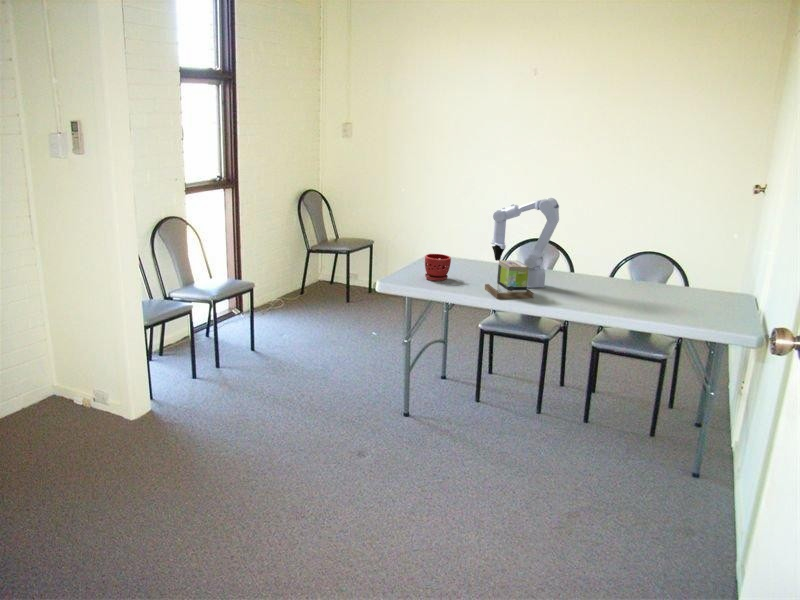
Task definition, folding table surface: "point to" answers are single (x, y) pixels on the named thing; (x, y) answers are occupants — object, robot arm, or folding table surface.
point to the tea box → (512, 276)
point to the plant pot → (437, 266)
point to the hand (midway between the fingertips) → (497, 260)
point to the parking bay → (508, 293)
